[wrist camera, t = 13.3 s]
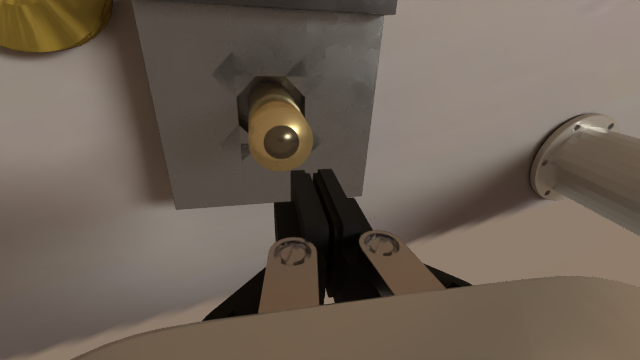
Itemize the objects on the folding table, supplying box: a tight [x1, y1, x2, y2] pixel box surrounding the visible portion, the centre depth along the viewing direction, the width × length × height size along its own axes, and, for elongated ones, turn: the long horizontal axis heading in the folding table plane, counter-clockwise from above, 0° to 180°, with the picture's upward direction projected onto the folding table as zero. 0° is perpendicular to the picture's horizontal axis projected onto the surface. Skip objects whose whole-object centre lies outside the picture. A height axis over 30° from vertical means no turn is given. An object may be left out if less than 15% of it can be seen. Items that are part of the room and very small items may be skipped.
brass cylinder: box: [249, 82, 313, 172], centre depth 22 cm, size 4×4×10 cm
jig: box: [131, 0, 397, 210], centre depth 26 cm, size 18×18×6 cm
